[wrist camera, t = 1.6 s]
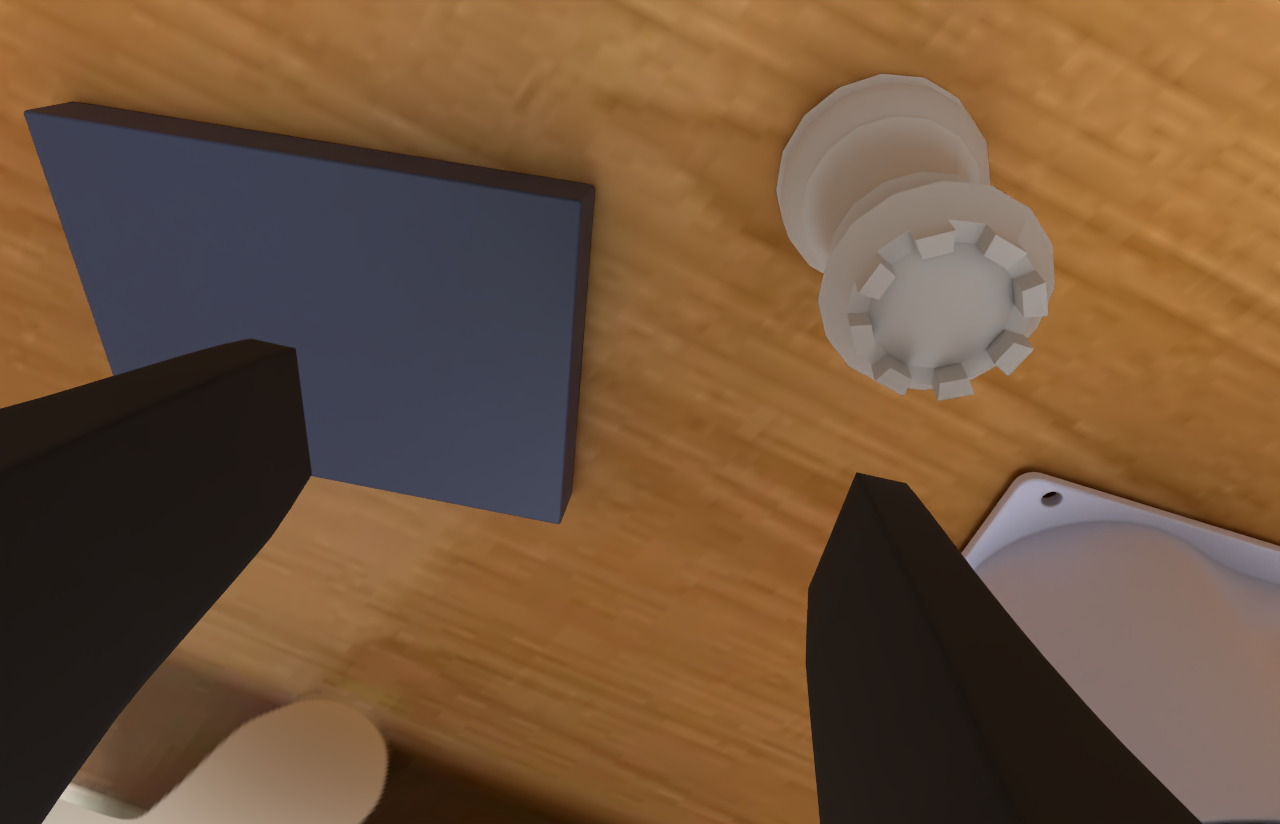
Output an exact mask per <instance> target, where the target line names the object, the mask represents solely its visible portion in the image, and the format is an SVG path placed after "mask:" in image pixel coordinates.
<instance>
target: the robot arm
mask: <svg viewBox="0 0 1280 824" xmlns="http://www.w3.org/2000/svg"><path fill="white" fill-rule="evenodd" d="M311 475H312V470H311V462H310V455H309V447H308V439H307V431H306V424H305V416H304V408H303V400H302V393H301V385H300V377H299V369H298V361H297V354H296V348H292V347H287V346H283V345H278V344H274V343H269V342H265V341H260V340H256V339H251V338H250V339H245V340H240V341H235V342H230V343H226V344H222V345H218V346H214V347H210V348H207V349H203V350H199V351H196V352H192V353H189V354H185V355H182V356H178V357H175V358H171V359H168V360H165V361H161V362H158V363H155V364H151V365H148V366H145V367H141V368H138V369H135V370H132V371H128V372H125V373H122V374H118V375H115V376H112V377H108V378H105V379H102V380H98V381H95V382H92V383H89V384H85V385H82V386H79V387H75V388H72V389H69V390H65V391H62V392H59V393H55V394H52V395H49V396H45V397H41V398H38V399H34V400H31V401H27V402H23V403H20V404H16V405H12V406H9V407H5V408H1V409H0V824H42V822H43V821H44V819H45V818H46V816H47V815H48V813H49V812H50V810H51V809H52V808H53V806H54V805H55V803H56V802H57V800H58V799H59V797H60V796H61V794H62V793H63V792H64V790H65V789H66V788H67V786H68V785H69V783H70V782H71V781H72V779H73V778H74V776H75V775H76V774H77V772H78V771H79V769H80V768H81V767H82V765H83V764H84V762H85V761H86V760H87V758H88V757H89V756H90V754H91V753H92V751H93V750H94V749H95V747H96V746H97V744H98V743H99V742H100V740H101V739H102V737H103V736H104V735H105V733H106V732H107V731H108V729H109V728H110V726H111V725H112V724H113V722H114V721H115V719H116V718H117V717H118V715H119V714H120V713H121V712H122V711H123V709H124V708H125V707H126V706H127V704H128V703H129V702H130V701H131V699H132V698H133V697H134V696H135V694H136V693H137V692H138V691H139V690H140V688H141V687H142V686H143V685H144V683H145V682H146V681H147V680H148V679H149V677H150V676H151V675H152V674H153V673H154V672H155V671H156V669H157V668H158V667H159V666H160V665H161V664H162V663H163V661H164V660H165V659H166V658H167V657H168V656H169V655H170V653H171V652H172V651H173V650H174V649H175V648H176V647H177V645H178V644H179V643H180V642H181V641H182V640H183V639H184V637H185V636H186V635H187V634H188V633H189V632H190V631H191V629H192V628H193V627H194V626H195V625H196V624H197V623H198V621H199V620H200V619H201V618H202V617H203V616H204V615H205V613H206V612H207V611H208V610H209V609H210V608H211V607H212V605H213V604H214V603H215V602H216V601H217V600H218V599H219V597H220V596H221V595H222V594H223V593H224V592H225V591H226V589H227V588H228V587H229V586H230V585H231V584H232V583H233V581H234V580H235V579H236V578H237V577H238V576H239V574H240V573H241V572H242V571H243V570H244V569H245V567H246V566H247V565H248V564H249V563H250V562H251V560H252V559H253V558H254V557H255V556H256V555H257V553H258V552H259V551H260V550H261V549H262V547H263V546H264V545H265V544H266V543H267V541H268V540H269V539H270V538H271V537H272V535H273V534H274V532H275V531H276V529H277V528H278V526H279V525H280V523H281V522H282V520H283V519H284V517H285V516H286V514H287V513H288V512H289V510H290V509H291V507H292V505H293V504H294V502H295V501H296V499H297V497H298V496H299V494H300V493H301V491H302V489H303V488H304V486H305V484H306V483H307V481H308V480H309V478H310V476H311ZM1049 492H1056V494H1054V495H1053V496H1051V497H1048V498H1043V497H1042V496H1044V495H1045V494H1046V493H1049ZM806 671H807V684H808V696H809V707H810V719H811V730H812V741H813V751H814V762H815V773H816V783H817V794H818V805H819V816H820V824H1280V546H1278V545H1274V544H1271V543H1268V542H1264V541H1261V540H1258V539H1255V538H1251V537H1248V536H1245V535H1242V534H1238V533H1235V532H1232V531H1229V530H1225V529H1222V528H1219V527H1216V526H1212V525H1209V524H1206V523H1203V522H1199V521H1196V520H1193V519H1190V518H1186V517H1183V516H1180V515H1177V514H1173V513H1170V512H1167V511H1164V510H1160V509H1157V508H1154V507H1150V506H1147V505H1144V504H1141V503H1137V502H1134V501H1131V500H1128V499H1124V498H1121V497H1118V496H1115V495H1111V494H1108V493H1105V492H1102V491H1098V490H1095V489H1092V488H1089V487H1085V486H1082V485H1079V484H1076V483H1072V482H1069V481H1066V480H1063V479H1059V478H1056V477H1053V476H1050V475H1046V474H1043V473H1039V472H1029V473H1025V474H1022V475H1020V476H1018V477H1017V478H1016V479H1015V480H1014V481H1013V483H1012V484H1011V485H1010V487H1009V488H1008V489H1007V491H1006V492H1005V494H1004V495H1003V496H1002V498H1001V499H1000V500H999V502H998V503H997V505H996V506H995V507H994V509H993V510H992V512H991V513H990V514H989V516H988V517H987V518H986V520H985V521H984V523H983V524H982V525H981V527H980V528H979V529H978V531H977V532H976V534H975V535H974V536H973V538H972V539H971V540H970V542H969V543H968V545H967V546H966V547H965V549H964V550H963V552H962V553H960V551H959V550H958V549H957V547H956V546H955V545H954V543H953V542H952V541H951V540H950V538H949V537H948V536H947V534H946V533H945V532H944V530H943V529H942V528H941V526H940V525H939V524H938V523H937V521H936V520H935V519H934V517H933V516H932V515H931V513H930V512H929V511H928V510H927V508H926V507H925V506H924V504H923V503H922V502H921V501H920V499H919V498H918V497H917V496H916V494H915V493H914V492H913V491H912V490H911V488H910V487H909V486H908V485H907V484H906V483H902V482H897V481H893V480H888V479H884V478H879V477H875V476H870V475H866V474H861V473H857V472H856V475H855V477H854V480H853V482H852V485H851V487H850V489H849V492H848V494H847V497H846V499H845V501H844V504H843V506H842V509H841V511H840V514H839V516H838V518H837V521H836V523H835V526H834V528H833V530H832V533H831V535H830V538H829V540H828V542H827V545H826V547H825V550H824V552H823V555H822V557H821V559H820V562H819V564H818V567H817V569H816V571H815V574H814V576H813V579H812V581H811V584H810V586H809V589H808V610H807V635H806Z"/></svg>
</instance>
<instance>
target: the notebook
mask: <svg viewBox="0 0 1280 824" xmlns="http://www.w3.org/2000/svg"><path fill="white" fill-rule="evenodd" d="M24 116H25V118H26V121H27V124H28V127H29V130H30V133H31V136H32V139H33V142H34V145H35V148H36V151H37V154H38V156H39V159H40V162H41V165H42V168H43V171H44V174H45V177H46V180H47V183H48V186H49V189H50V192H51V194H52V197H53V200H54V203H55V206H56V209H57V212H58V215H59V218H60V221H61V224H62V227H63V230H64V232H65V235H66V238H67V241H68V244H69V247H70V250H71V253H72V256H73V259H74V262H75V265H76V268H77V270H78V273H79V276H80V279H81V282H82V285H83V288H84V291H85V294H86V297H87V300H88V303H89V306H90V308H91V311H92V314H93V317H94V320H95V323H96V326H97V329H98V332H99V335H100V338H101V341H102V344H103V346H104V349H105V352H106V355H107V358H108V361H109V364H110V367H111V370H112V373H113V376H115V375H118V374H122V373H125V372H128V371H132V370H135V369H138V368H141V367H145V366H148V365H151V364H155V363H158V362H161V361H165V360H168V359H171V358H175V357H178V356H182V355H185V354H189V353H192V352H196V351H199V350H203V349H207V348H210V347H214V346H218V345H222V344H226V343H230V342H235V341H240V340H245V339H250V338H251V339H256V340H260V341H265V342H269V343H274V344H278V345H283V346H287V347H292V348H296V354H297V361H298V369H299V377H300V385H301V393H302V400H303V408H304V416H305V424H306V431H307V439H308V447H309V455H310V462H311V470H312V475H311V476H314V477H319V478H325V479H330V480H335V481H340V482H345V483H350V484H355V485H360V486H366V487H371V488H376V489H381V490H386V491H391V492H396V493H401V494H407V495H412V496H417V497H422V498H427V499H432V500H437V501H442V502H448V503H453V504H458V505H463V506H468V507H473V508H478V509H483V510H488V511H494V512H499V513H504V514H509V515H514V516H519V517H524V518H529V519H535V520H540V521H545V522H550V523H555V524H560V523H561V520H562V518H563V515H564V513H565V510H566V507H567V505H568V502H569V499H570V497H571V492H572V479H573V466H574V453H575V441H576V428H577V415H578V402H579V389H580V376H581V364H582V351H583V338H584V325H585V312H586V299H587V287H588V274H589V261H590V248H591V235H592V223H593V210H594V197H595V187H594V186H593V185H590V184H584V183H577V182H571V181H565V180H559V179H552V178H546V177H540V176H534V175H527V174H521V173H515V172H509V171H502V170H496V169H490V168H484V167H478V166H471V165H465V164H459V163H453V162H446V161H440V160H434V159H428V158H421V157H415V156H409V155H403V154H396V153H390V152H384V151H378V150H371V149H365V148H359V147H353V146H346V145H340V144H334V143H328V142H321V141H315V140H309V139H303V138H296V137H290V136H284V135H278V134H271V133H265V132H259V131H253V130H246V129H240V128H234V127H228V126H221V125H215V124H209V123H203V122H196V121H190V120H184V119H178V118H171V117H165V116H159V115H153V114H146V113H140V112H134V111H128V110H121V109H115V108H109V107H103V106H96V105H90V104H84V103H78V102H68V103H63V104H57V105H52V106H47V107H41V108H36V109H30V110H26V111H24Z"/></svg>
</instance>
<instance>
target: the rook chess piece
mask: <svg viewBox="0 0 1280 824" xmlns="http://www.w3.org/2000/svg"><path fill="white" fill-rule="evenodd" d="M776 194H777V198H778V202H779V206H780V211H781V215H782V219H783V224H784V227H785V229H786V232H787V236H788V238H789V240H790V241H791V242H792V244H793V245H794V246H795V247H796V249H797V250H798V251H799V253H800V254H801V255H802V257H803V258H804V259H805V261H806V262H807V263H808V265H809V266H811V267H812V268H814V269H816V270H818V271H820V272H821V273H823V274H824V275H823V280H822V284H821V289H820V294H819V298H818V303H819V307H820V312H821V316H822V321H823V325H824V330H825V334H826V338H827V339H828V340H829V342H830V343H831V344H832V345H833V347H834V348H835V349H836V351H837V352H838V353H839V354H840V356H841V357H842V358H843V360H844V361H845V362H846V363H847V365H848V366H849V367H851V368H853V369H855V370H856V371H858V372H860V373H862V374H864V375H866V376H868V377H869V378H871V379H873V380H875V381H876V382H878V383H880V384H882V385H883V386H885V387H887V388H889V389H891V390H893V391H895V392H896V393H898V394H900V395H902V396H904V394H905V393H906V391H907V389H908V388H911V389H918V390H928V389H934V392H935V394H936V397H937V400H938V401H940V400H946V399H951V398H956V397H962V396H967V395H973V394H974V391H973V389H972V386H971V384H970V380H972V379H973V378H975V377H977V376H979V375H981V374H983V373H985V372H986V371H988V370H990V369H992V368H994V367H996V366H997V367H998V368H999V369H1001V370H1002V371H1003V372H1004V373H1005V374H1006V375H1007V376H1009V375H1010V374H1011V373H1012V372H1013V371H1014V370H1015V369H1016V368H1017V367H1018V366H1019V365H1020V364H1021V362H1022V361H1023V360H1024V359H1025V358H1026V357H1027V356H1028V355H1029V354H1030V353H1031V352H1032V351H1033V350H1034V348H1033V347H1032V345H1031V344H1030V343H1029V341H1028V340H1027V339H1028V338H1029V336H1030V335H1031V334H1032V333H1033V332H1034V331H1035V330H1036V329H1037V328H1038V326H1039V324H1040V321H1041V319H1042V317H1043V316H1048V309H1047V304H1048V302H1049V300H1050V297H1051V295H1052V292H1053V290H1054V287H1055V283H1054V262H1053V245H1052V243H1051V241H1050V240H1049V238H1048V236H1047V235H1046V233H1045V231H1044V230H1043V228H1042V226H1041V225H1040V223H1039V222H1038V220H1037V218H1036V217H1035V215H1034V213H1033V212H1032V210H1031V209H1030V208H1029V207H1027V206H1025V205H1024V204H1022V203H1020V202H1019V201H1017V200H1015V199H1013V198H1012V197H1010V196H1008V195H1007V194H1005V193H1003V192H1002V191H1000V190H998V189H996V188H995V187H993V186H990V172H989V161H988V149H987V142H986V140H985V139H984V137H983V135H982V134H981V132H980V130H979V129H978V127H977V126H976V124H975V122H974V121H973V119H972V117H971V116H970V114H969V112H968V111H967V109H966V108H965V107H964V106H963V104H962V103H961V101H960V99H959V98H957V97H956V96H954V95H952V94H951V93H949V92H947V91H946V90H944V89H942V88H941V87H939V86H937V85H936V84H934V83H932V82H931V81H929V80H927V79H926V78H924V77H913V76H902V75H891V74H879V75H876V76H873V77H870V78H867V79H863V80H860V81H857V82H854V83H851V84H848V85H845V86H842V87H839V88H838V89H836V90H835V91H834V92H833V93H831V94H830V95H829V96H828V97H827V98H825V99H824V100H823V101H822V102H820V103H819V104H818V105H817V106H815V107H814V108H813V109H812V110H810V111H809V112H808V113H807V114H805V115H804V117H803V119H802V120H801V122H800V124H799V125H798V127H797V129H796V130H795V132H794V134H793V135H792V137H791V139H790V140H789V142H788V144H787V145H786V147H785V149H784V150H783V152H782V158H781V164H780V170H779V176H778V182H777V188H776Z"/></svg>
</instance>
